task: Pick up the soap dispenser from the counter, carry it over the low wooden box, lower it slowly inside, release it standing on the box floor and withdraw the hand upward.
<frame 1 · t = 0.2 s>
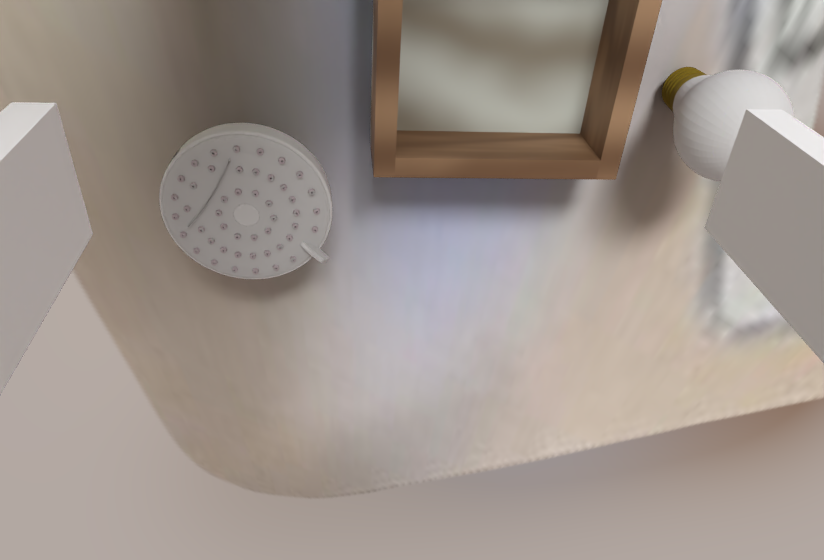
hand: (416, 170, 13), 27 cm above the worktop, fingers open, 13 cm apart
showerhead: (262, 163, 42), on the worktop
wooden box: (496, 27, 38), on the worktop
light bulb: (675, 82, 41), on the worktop
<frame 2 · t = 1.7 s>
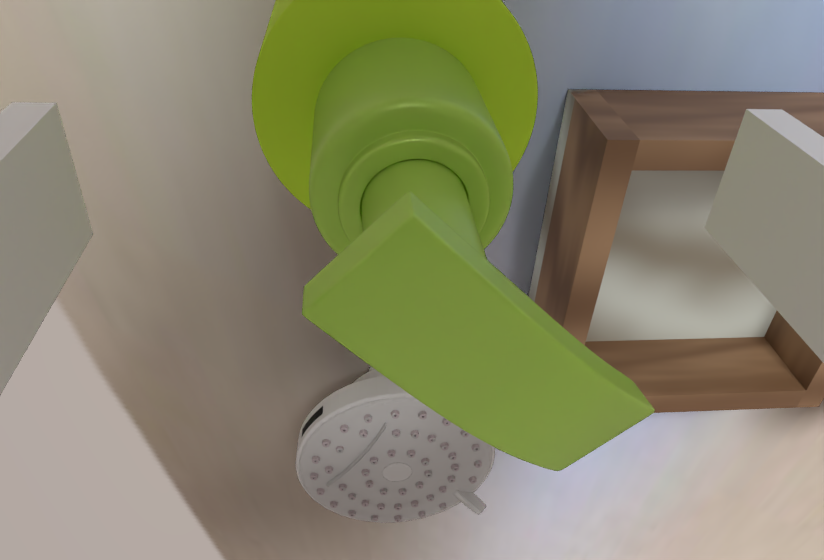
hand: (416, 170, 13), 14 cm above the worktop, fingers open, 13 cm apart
showerhead: (392, 371, 36), on the worktop
wooden box: (682, 234, 32), on the worktop
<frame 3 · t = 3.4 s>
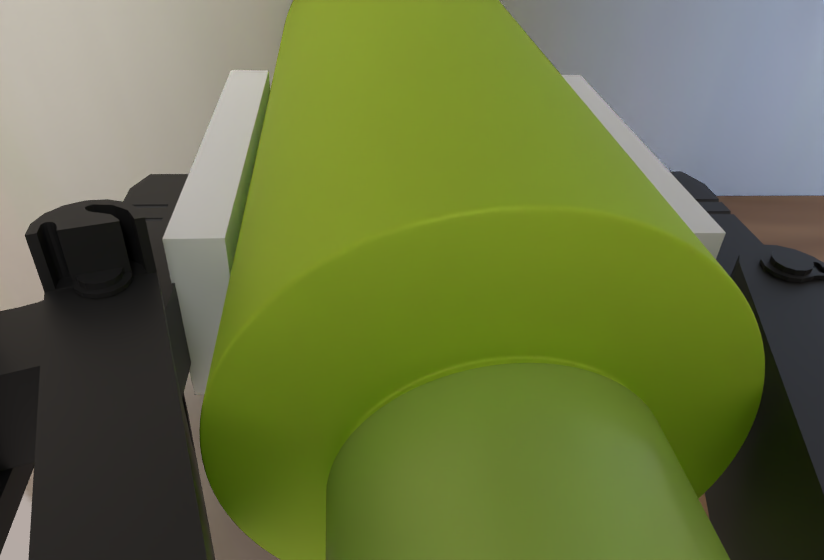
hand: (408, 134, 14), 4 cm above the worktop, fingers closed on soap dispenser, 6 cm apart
wooden box: (779, 359, 25), on the worktop
soap dispenser: (407, 70, 18), on the worktop, touching gripper
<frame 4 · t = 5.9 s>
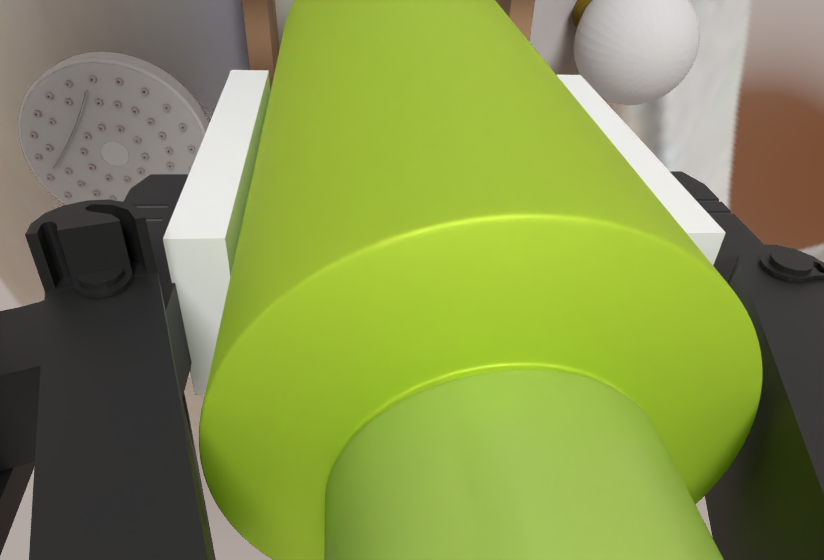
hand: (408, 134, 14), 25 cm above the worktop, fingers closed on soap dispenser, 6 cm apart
showerhead: (150, 106, 39), on the worktop
soap dispenser: (406, 72, 18), point 21 cm above the worktop, touching gripper
light bulb: (589, 6, 38), on the worktop
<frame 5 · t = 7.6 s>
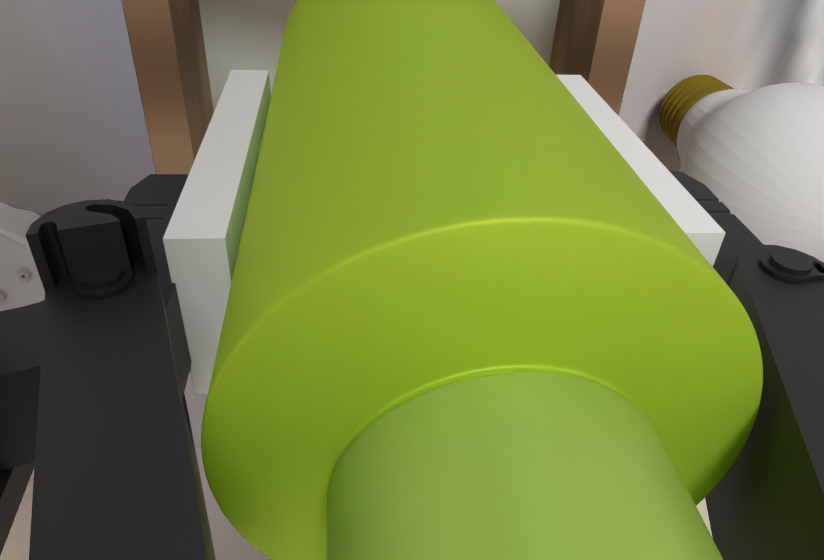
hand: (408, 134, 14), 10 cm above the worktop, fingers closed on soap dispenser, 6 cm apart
showerhead: (35, 232, 27), on the worktop
wooden box: (381, 14, 23), on the worktop
soap dispenser: (407, 73, 18), point 6 cm above the worktop, touching gripper
light bulb: (681, 98, 26), on the worktop
when the fingers open (6 cm above the worktop, at t = 8.7 s): soap dispenser drops 1 cm, resting on wooden box.
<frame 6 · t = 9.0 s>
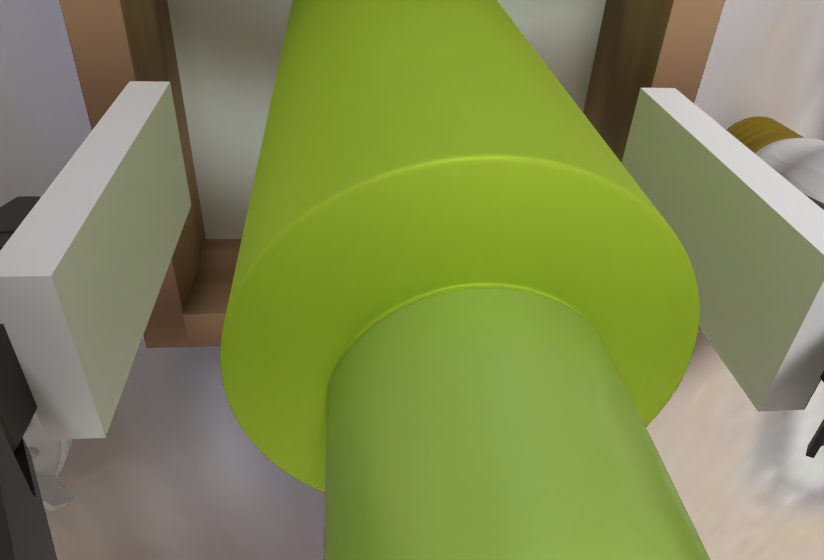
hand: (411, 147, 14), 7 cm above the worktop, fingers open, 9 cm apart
wooden box: (389, 49, 20), on the worktop
soap dispenser: (404, 56, 19), point 1 cm above the worktop, touching wooden box
light bulb: (731, 141, 23), on the worktop
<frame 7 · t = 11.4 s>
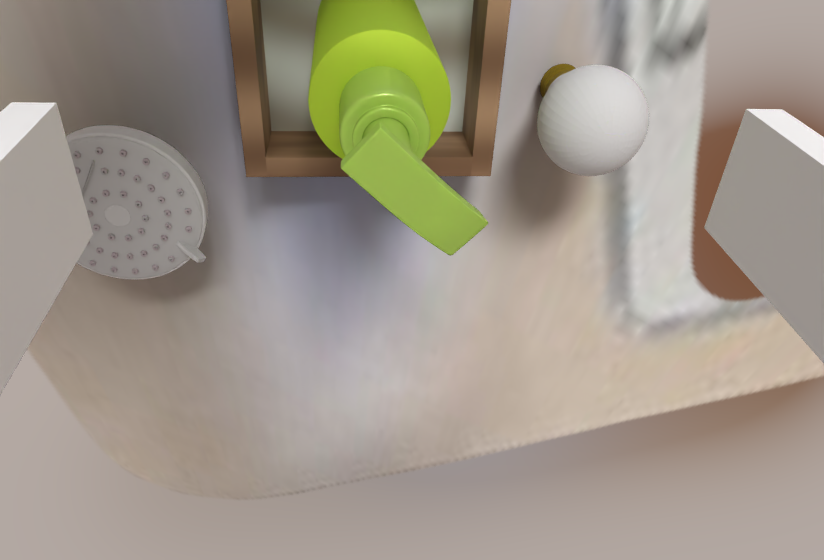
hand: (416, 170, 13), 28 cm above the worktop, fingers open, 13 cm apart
showerhead: (151, 166, 43), on the worktop
wooden box: (367, 28, 39), on the worktop
soap dispenser: (375, 30, 38), point 1 cm above the worktop, touching wooden box
light bulb: (556, 79, 42), on the worktop
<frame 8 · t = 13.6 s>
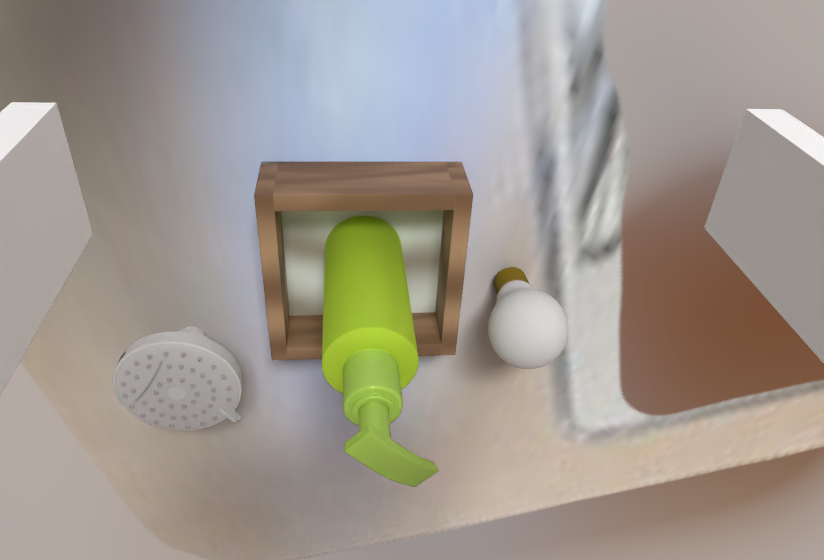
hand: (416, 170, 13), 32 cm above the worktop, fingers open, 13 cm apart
showerhead: (196, 335, 55), on the worktop
wooden box: (362, 246, 51), on the worktop
soap dispenser: (368, 251, 51), point 1 cm above the worktop, touching wooden box
light bulb: (507, 273, 54), on the worktop
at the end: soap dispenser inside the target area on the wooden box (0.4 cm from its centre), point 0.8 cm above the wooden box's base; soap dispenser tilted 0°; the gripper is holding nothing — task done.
